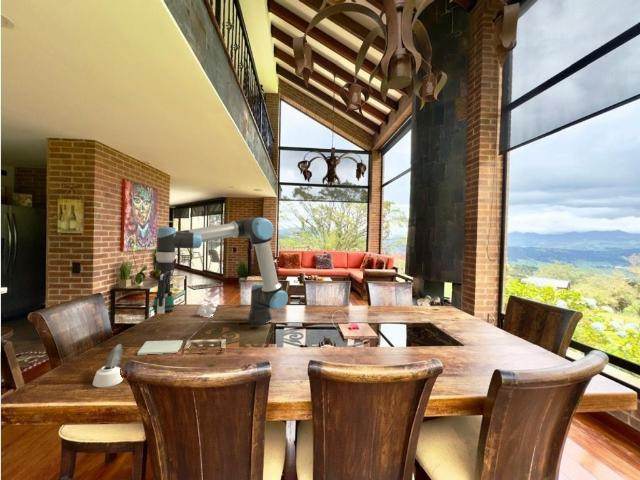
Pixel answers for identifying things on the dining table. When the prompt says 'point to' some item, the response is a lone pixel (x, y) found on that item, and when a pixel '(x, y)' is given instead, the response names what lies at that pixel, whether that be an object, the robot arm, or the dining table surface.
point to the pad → (160, 347)
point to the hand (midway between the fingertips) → (163, 310)
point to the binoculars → (167, 307)
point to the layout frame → (223, 341)
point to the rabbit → (207, 308)
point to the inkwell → (110, 369)
